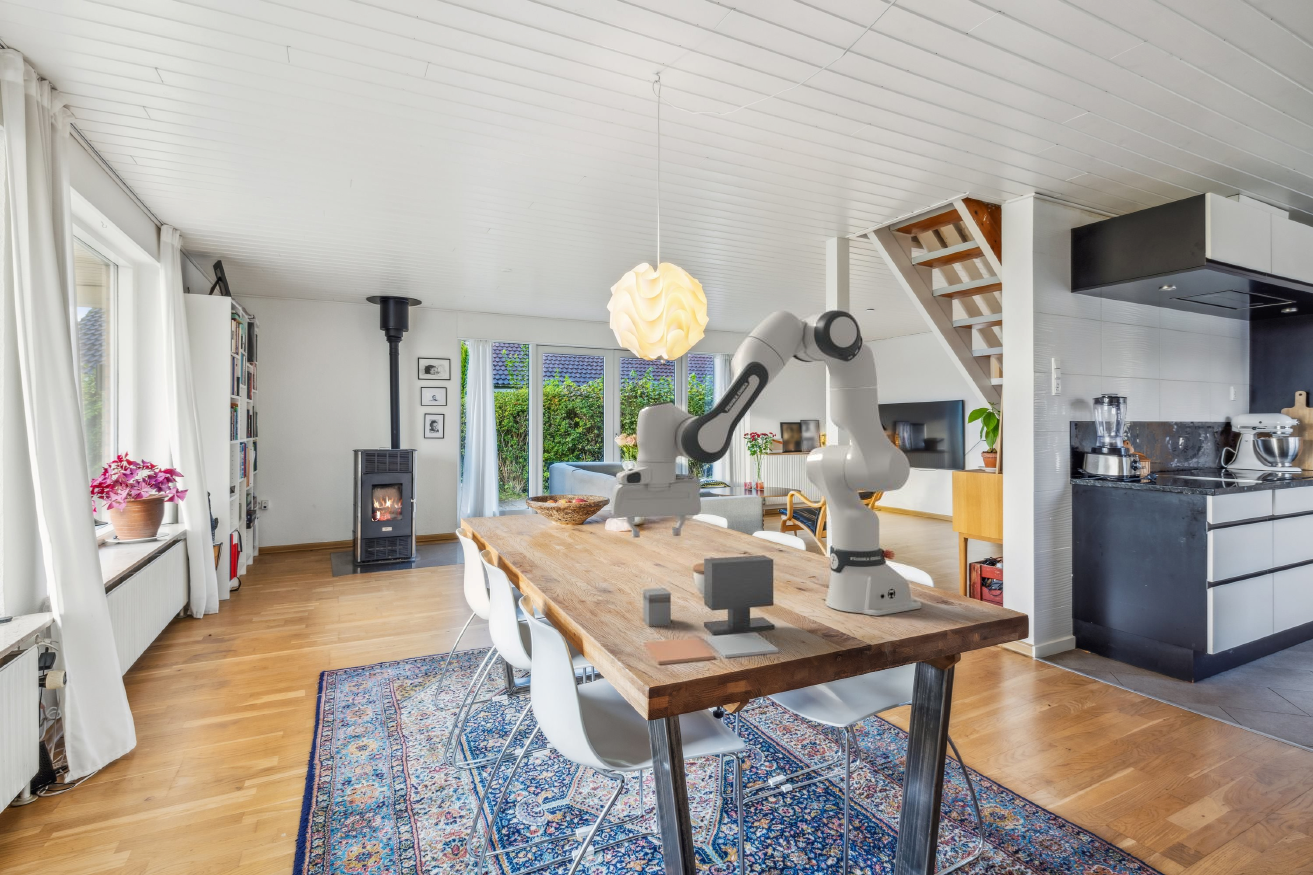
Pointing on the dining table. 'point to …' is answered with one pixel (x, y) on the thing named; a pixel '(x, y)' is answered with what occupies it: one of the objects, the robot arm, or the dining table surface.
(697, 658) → the terracotta pad
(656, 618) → the cartridge
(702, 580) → the lidded jar
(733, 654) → the pale pad
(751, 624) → the mounted unit
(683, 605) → the dining table surface
